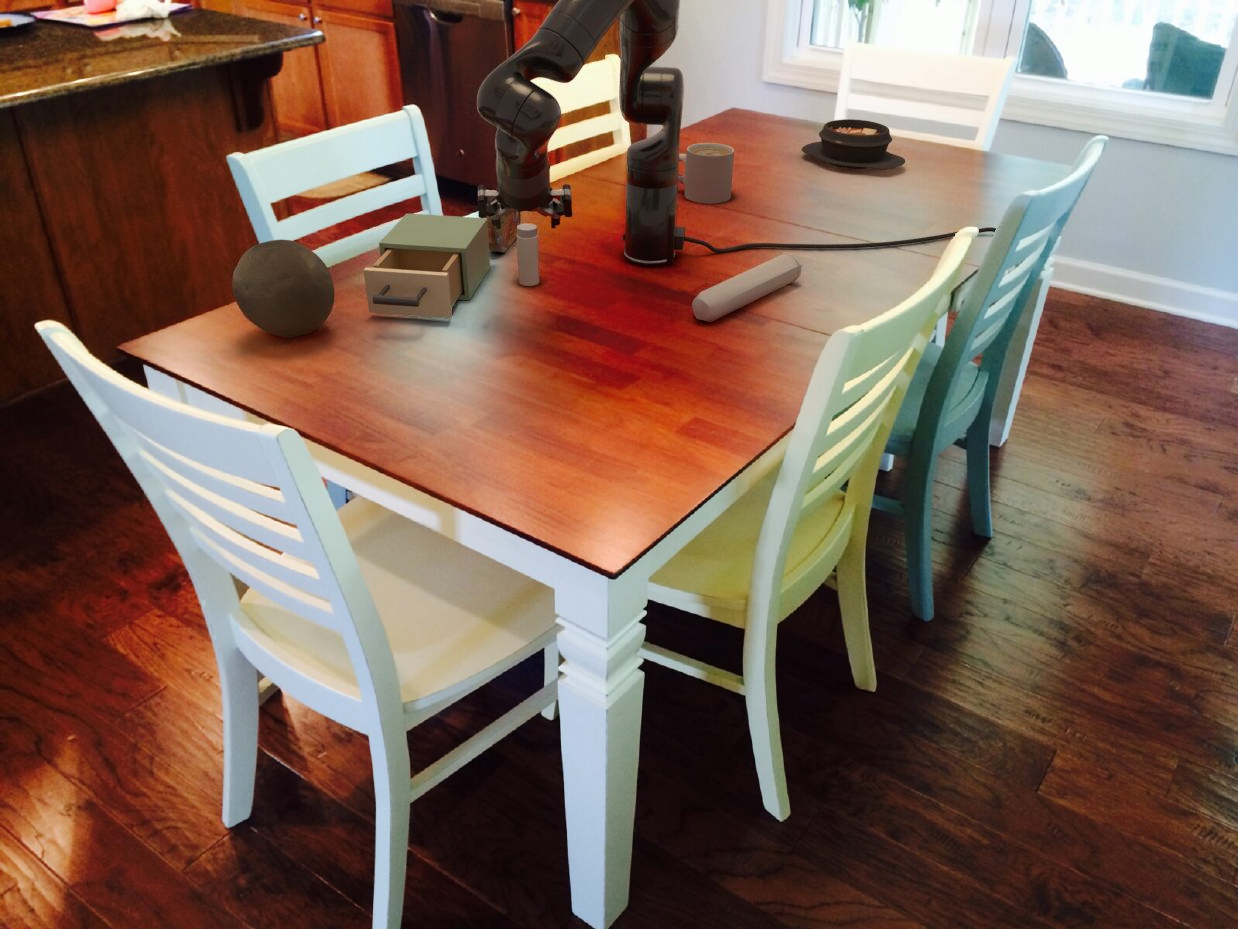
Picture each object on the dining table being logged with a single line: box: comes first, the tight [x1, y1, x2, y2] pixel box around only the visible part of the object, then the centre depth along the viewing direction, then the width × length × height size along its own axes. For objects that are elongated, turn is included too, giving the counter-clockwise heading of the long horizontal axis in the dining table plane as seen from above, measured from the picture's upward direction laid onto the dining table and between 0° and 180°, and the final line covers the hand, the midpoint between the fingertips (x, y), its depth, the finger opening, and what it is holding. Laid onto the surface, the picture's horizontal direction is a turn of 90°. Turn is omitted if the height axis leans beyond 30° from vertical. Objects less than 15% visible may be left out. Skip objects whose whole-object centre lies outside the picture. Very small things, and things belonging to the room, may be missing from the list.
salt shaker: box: [516, 222, 540, 287], centre depth 169 cm, size 4×4×10 cm
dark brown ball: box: [231, 239, 336, 338], centre depth 149 cm, size 14×14×15 cm
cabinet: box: [378, 213, 491, 301], centre depth 170 cm, size 15×15×9 cm
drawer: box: [363, 248, 464, 319], centre depth 159 cm, size 19×13×7 cm
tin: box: [486, 212, 522, 254], centre depth 185 cm, size 15×3×8 cm, turn 168°
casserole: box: [800, 118, 906, 171], centre depth 233 cm, size 25×19×8 cm
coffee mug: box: [678, 142, 735, 205], centre depth 211 cm, size 13×10×10 cm
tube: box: [691, 251, 803, 323], centre depth 165 cm, size 5×5×25 cm
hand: (526, 223), depth 156 cm, fingers open, 8 cm apart
